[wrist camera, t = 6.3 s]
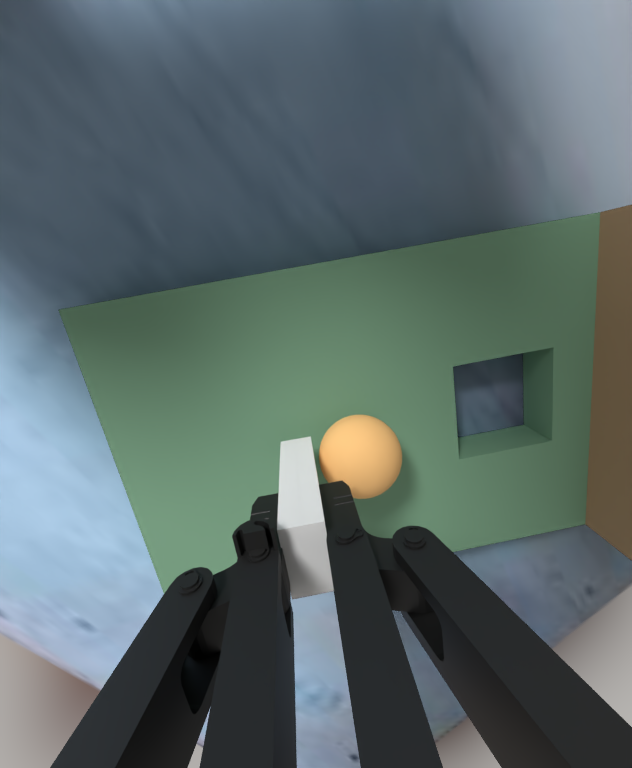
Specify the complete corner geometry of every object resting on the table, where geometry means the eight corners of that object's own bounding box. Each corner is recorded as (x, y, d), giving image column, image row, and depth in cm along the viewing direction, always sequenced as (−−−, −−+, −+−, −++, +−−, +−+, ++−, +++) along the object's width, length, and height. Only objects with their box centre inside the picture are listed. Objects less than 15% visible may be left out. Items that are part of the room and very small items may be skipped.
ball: (377, 499, 14) (434, 458, 16) (323, 415, 15) (384, 389, 17) (334, 524, 17) (388, 487, 19) (292, 452, 18) (347, 426, 20)
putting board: (182, 578, 23) (152, 662, 18) (88, 306, 18) (8, 314, 13) (583, 495, 24) (666, 552, 19) (595, 215, 19) (712, 188, 14)
